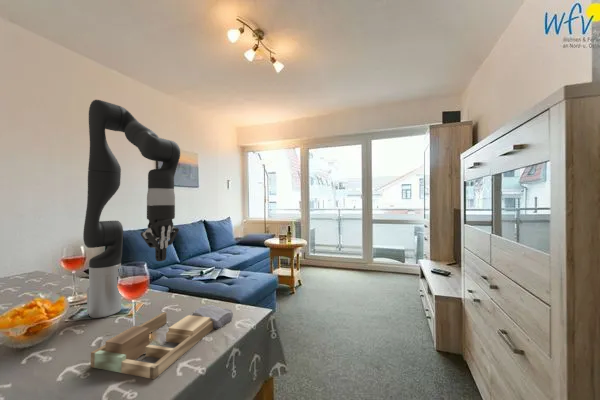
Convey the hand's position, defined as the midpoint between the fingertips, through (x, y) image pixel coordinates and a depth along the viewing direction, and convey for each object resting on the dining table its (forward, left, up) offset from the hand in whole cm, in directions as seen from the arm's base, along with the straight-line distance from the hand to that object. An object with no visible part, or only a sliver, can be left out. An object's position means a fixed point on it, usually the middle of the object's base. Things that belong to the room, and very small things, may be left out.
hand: (160, 260), depth 77 cm
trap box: (+5, -6, -22) cm, 23 cm away
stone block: (+11, +12, -23) cm, 28 cm away
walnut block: (+1, -12, -22) cm, 25 cm away
